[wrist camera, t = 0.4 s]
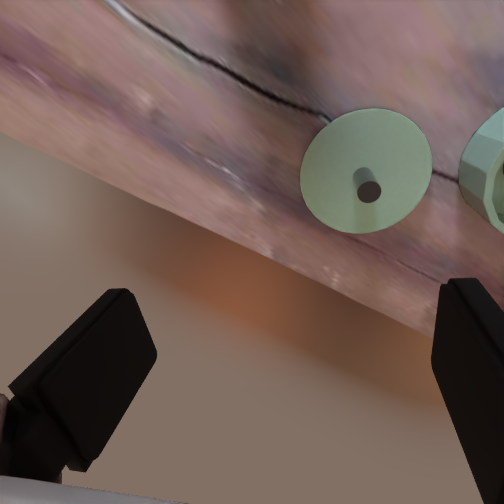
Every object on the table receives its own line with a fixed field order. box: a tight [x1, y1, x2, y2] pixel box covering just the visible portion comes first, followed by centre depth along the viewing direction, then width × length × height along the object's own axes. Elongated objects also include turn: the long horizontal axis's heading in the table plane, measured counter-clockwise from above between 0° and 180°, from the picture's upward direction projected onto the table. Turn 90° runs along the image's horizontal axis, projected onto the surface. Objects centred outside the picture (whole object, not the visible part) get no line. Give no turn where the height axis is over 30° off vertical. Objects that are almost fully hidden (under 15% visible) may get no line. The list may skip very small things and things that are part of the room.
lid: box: [300, 108, 432, 234], centre depth 38 cm, size 16×16×7 cm
